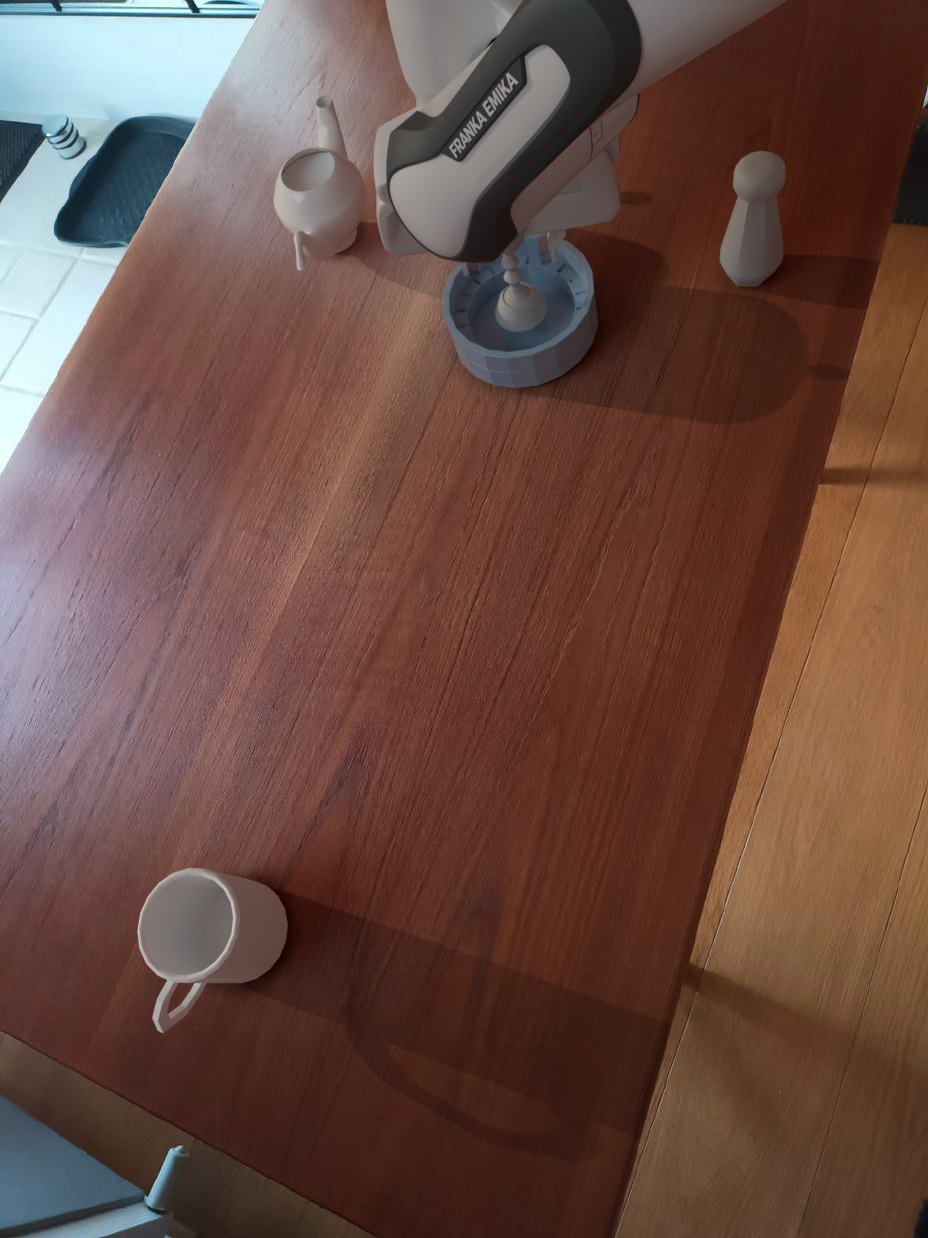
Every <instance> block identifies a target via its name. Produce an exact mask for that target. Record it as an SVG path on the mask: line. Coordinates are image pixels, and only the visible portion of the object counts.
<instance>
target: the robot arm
mask: <svg viewBox="0 0 928 1238" xmlns="http://www.w3.org/2000/svg"><path fill="white" fill-rule="evenodd" d="M787 1H788V0H385V6H386V12H387V17H388V22H389V27H390V31H391V35H392V39H393V43H394V47H395V52H396V55H397V58H398V62H399V65H400V68H401V72H402V76H403V78H404V80H405V82H406V84H407V86H408V88H409V89H410V90H411V92H412V93H413V95H414V97H415V107H414V106H413V108H411V109H409V110H407V111H406V112H403V113H402V114H400V115H398V116H396V117H395V118H392V119H391V120H388V121H387V122H385V123H383V124H381V125H380V126H379V127H378V128H377V129H376V133H375V140H374V147H373V159H372V160H373V163H372V165H373V178H374V185H375V192H376V194H375V197H376V199H375V201H376V203H375V204H376V205H375V206H376V208H375V209H376V212H375V213H376V221H377V227H378V233H379V236H380V239H381V242H382V245H383V248H384V250H385V251H386V252H388V253H389V254H391V255H393V256H395V257H396V258H397V257H398V258H403V257H407V256H414V255H418V254H425V253H430V254H432V255H434V256H435V257H437V258H439V259H442V260H446V261H450V262H454V263H456V264H457V265H458V264H459V265H461V266H462V270H463V273H464V276H469V275H475V274H480V263H486V262H493V261H495V260H496V259H497V258H498V257H499V256H500V255H501V254H502V253H503V252H504V250H505V249H506V248H507V247H508V246H509V245H510V244H511V243H512V242H513V240H514V239H515V238H516V237H517V236H518V233H519V232H520V231H521V230H522V229H523V228H524V227H525V226H526V228H525V230H524V233H523V236H527V235H533V234H539V233H547V235H543V236H538V243H539V254H540V259H541V264H543V263H550V262H557V248H558V246H559V245H560V243H561V242H562V240H563V239H564V240H565V237H566V236H567V230H568V229H575V228H581V227H587V226H593V225H599V224H605V223H609V222H612V221H613V220H614V218H615V217H617V215H618V214H619V212H620V211H621V200H620V191H619V183H618V175H617V170H616V164H615V162H616V161H617V159H618V157H619V155H620V152H621V139H620V138H621V137H620V134H622V132H623V130H625V129H626V127H627V126H628V125H629V124H630V123H632V121H633V120H634V119H635V117H636V115H637V113H638V110H639V105H640V99H641V93H642V92H643V91H645V90H646V89H648V88H650V87H652V86H653V85H655V84H656V83H658V82H659V81H661V80H663V79H664V78H666V77H667V76H668V75H670V74H672V73H673V72H675V71H677V70H678V69H680V68H681V67H683V66H684V65H685V64H687V63H689V62H691V61H692V60H694V59H695V58H697V57H699V56H701V55H702V54H704V53H705V52H707V51H709V50H710V49H711V48H713V47H714V46H716V45H718V44H719V43H721V42H723V41H725V40H726V39H728V38H730V37H731V36H733V35H735V34H736V33H738V32H740V31H741V30H743V29H744V28H746V27H748V26H749V25H751V24H753V23H754V22H757V20H759V19H761V18H762V17H764V16H765V15H766V16H767V14H769V13H770V12H772V11H774V10H775V9H776V8H778V7H780V6H781V5H783V4H784V3H786V2H787Z"/></svg>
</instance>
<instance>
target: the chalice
mask: <svg viewBox="0 0 928 1238" xmlns="http://www.w3.org/2000/svg"><path fill="white" fill-rule="evenodd" d="M525 228H526V226H525V227H524V228H523V229H522V230H521V231H520V232H519V233H518V236H517V237H516V238H515V239H514V240H513V242H512V243H511V244H510V245H509V246H508V247H507V248H506V249H505V250H504V252H503V253H502V254H501V255H503V259H502V261H501V265H502V266H503V267H504V268H506V270H507V271H506V272H505V274H504V280H505V281H506V282H507V283H509V284H510V285H509V286H507V287H506V288H505V289H504V290H503V291H502V292H501V294H500V297H499V300H498V304H497V306H496V309H495V317H496V320H497V322H498V323H499V324H500V326H501V327H503V328H505V329H506V330H509V331H514V332H521V331H526V330H529V329H532V328H534V327H535V326H537V325H538V324H539V323H540V322H541V321H542V320H543V319H544V317H545V315H546V312H547V303H546V300H545V298H544V297H543V296H542V295H541V294H540V293H539V292H538V291H537V290H536V289H535V288H534V287H533V286H532V285H530V284H529V283H525V282H520V280H521V279H522V277H523V272H522V271H521V270H520V269H517V265H518V263H519V258H518V257H517V256H515V254H514V252H515V251H517V250H518V249H519V248H520V246H521V244H522V242H523V240H524V237H525V236H523V233H524V230H525Z"/></svg>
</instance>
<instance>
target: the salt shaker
mask: <svg viewBox="0 0 928 1238" xmlns="http://www.w3.org/2000/svg"><path fill="white" fill-rule="evenodd" d="M786 172H787V171H786V164H785V162H784V160H783V159H782V157H781V156H779V155H777V154H776V153H774V152H772V151H766V150H759V151H754V152H753V151H752V152H750V153H748V154H746V155H744V156H743V157H742V158H740V160H739V161H738V163H737V164H736V165H735V168H734V171H733V179H732V187H733V190H734V192H735V194H736V196H737V198H736V201H735V204H734V207H733V210H732V213H731V215H730V219H729V222H728V225H727V228H726V230H725V233H724V237H723V240H722V242H721V244H720V245H721V246H720V252H719V263H720V265H721V267H722V269H723V270H724V273H725V274H726V275H727V277H728V278H729V279H730V280H731V281H732V282H733V283H734V284H735V285H736V286H737V288H741V287H744V288H746V287H747V288H750V287H751V288H754V287H759V286H760V285H761V284H763V283H764V282H765V281H766V280H767V279H769V278H770V276H772V275H773V274H774V273H775V272H776V270H777V269H778V268H779V266H780V265H781V263H782V262H783V259H784V239H783V234H782V226H781V219H780V213H779V206H778V197H777V196H778V195H779V194H780V192H781V190H782V189H783V188H784V186H785V182H786Z"/></svg>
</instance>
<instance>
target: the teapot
mask: <svg viewBox="0 0 928 1238" xmlns="http://www.w3.org/2000/svg"><path fill="white" fill-rule="evenodd" d="M334 104H335V103H334V101H333V99H332V97H331V96H329V95H322V96H320V97H319V98H317V99H316V101H315V109H316V121H317V131H318V134H317V135H318V143H317V144H318V145H317V146H313V147H307V148H304V149H301V150H299V151H297V152H295V153H293V154H292V155H291V156H289V157H288V158H287V160H286V161H284V163H283V164H282V165H281V168H280V169H279V172H278V174H277V177H276V180H275V185H274V190H273V198H272V199H273V200H272V201H273V207H274V211H275V213H276V215H277V217H278V219H279V222H281V224H282V225H283V227H284V228H285V229H286V230H287V231H288V232H289V233H291V234H292V235H293V244H294V248H295V255H296V256H295V257H296V259H295V260H296V269H297V270H298V271H299V272H301V271H304V270H305V269H306V267H307V261H306V259H305V256H306V257H307V258H309V259H311V260H312V261H315V262H317V261H318V262H323V261H326V260H328V259H330V258H332V257H333V256H334V255H335V254H337V253H340V252H343V251H345V250H347V249H348V248H350V247H351V246H352V245H353V244H354V242H355V241H356V239H357V237H358V236H357V235H358V226H359V225H360V222H361V220H362V218H363V216H364V212H365V207H366V188H365V183H364V179H363V177H362V174H361V172H360V170H359V168H358V167H357V166H356V165H355V163H354V162H353V161H351V160H350V159H349V157H348V151H347V148H346V144H345V140H344V136H343V132H342V129H341V125H340V122H339V119H338V115H337V112H336V108H335V105H334Z"/></svg>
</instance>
